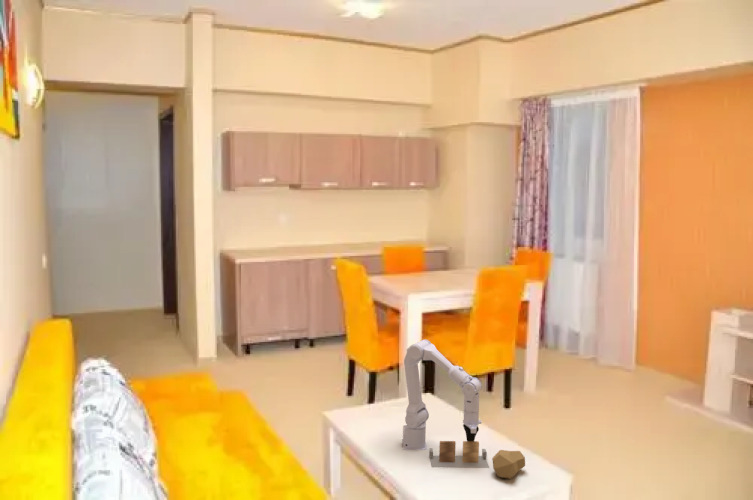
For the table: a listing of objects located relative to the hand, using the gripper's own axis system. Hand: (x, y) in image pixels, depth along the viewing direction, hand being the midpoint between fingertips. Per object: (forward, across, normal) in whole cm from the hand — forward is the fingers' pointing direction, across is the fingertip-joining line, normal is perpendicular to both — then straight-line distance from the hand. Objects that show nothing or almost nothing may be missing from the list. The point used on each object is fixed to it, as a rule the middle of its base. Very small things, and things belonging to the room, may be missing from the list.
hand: (470, 443), depth 252 cm
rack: (+7, -2, +4) cm, 8 cm away
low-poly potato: (+7, -12, -13) cm, 19 cm away
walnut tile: (+6, -2, +9) cm, 11 cm away
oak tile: (+6, -2, 0) cm, 7 cm away
